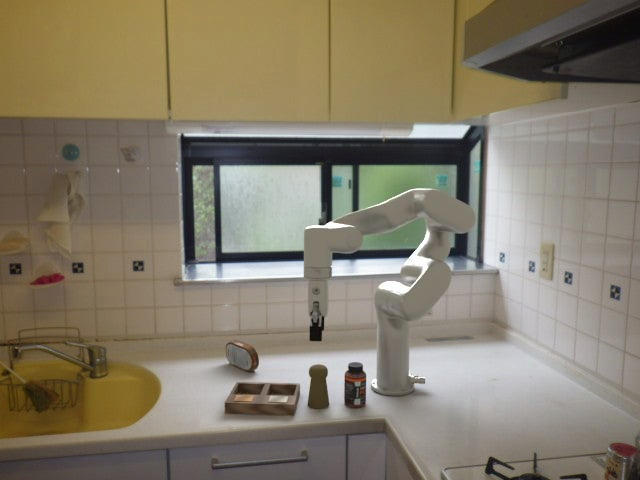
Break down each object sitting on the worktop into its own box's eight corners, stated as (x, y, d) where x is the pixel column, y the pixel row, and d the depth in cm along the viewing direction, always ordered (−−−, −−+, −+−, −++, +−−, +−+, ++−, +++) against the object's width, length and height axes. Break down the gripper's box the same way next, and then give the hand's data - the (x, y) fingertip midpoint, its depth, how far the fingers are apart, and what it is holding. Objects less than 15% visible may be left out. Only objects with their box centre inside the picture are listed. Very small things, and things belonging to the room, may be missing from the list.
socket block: (300, 393, 149) (300, 382, 149) (294, 415, 135) (294, 403, 135) (236, 391, 150) (236, 381, 150) (224, 413, 136) (224, 401, 136)
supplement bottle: (363, 410, 138) (363, 369, 137) (341, 407, 140) (342, 367, 139) (368, 401, 144) (368, 361, 143) (347, 398, 146) (347, 359, 144)
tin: (259, 372, 165) (259, 347, 164) (252, 375, 163) (251, 349, 162) (232, 361, 176) (231, 337, 175) (224, 363, 173) (223, 339, 172)
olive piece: (327, 410, 138) (327, 370, 137) (305, 408, 139) (304, 369, 138) (331, 400, 144) (331, 362, 143) (310, 399, 145) (309, 361, 144)
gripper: (330, 279, 128) (329, 346, 130) (333, 267, 146) (332, 327, 148) (300, 278, 129) (299, 345, 131) (306, 266, 146) (306, 326, 148)
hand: (317, 335), depth 139 cm, fingers open, 9 cm apart
